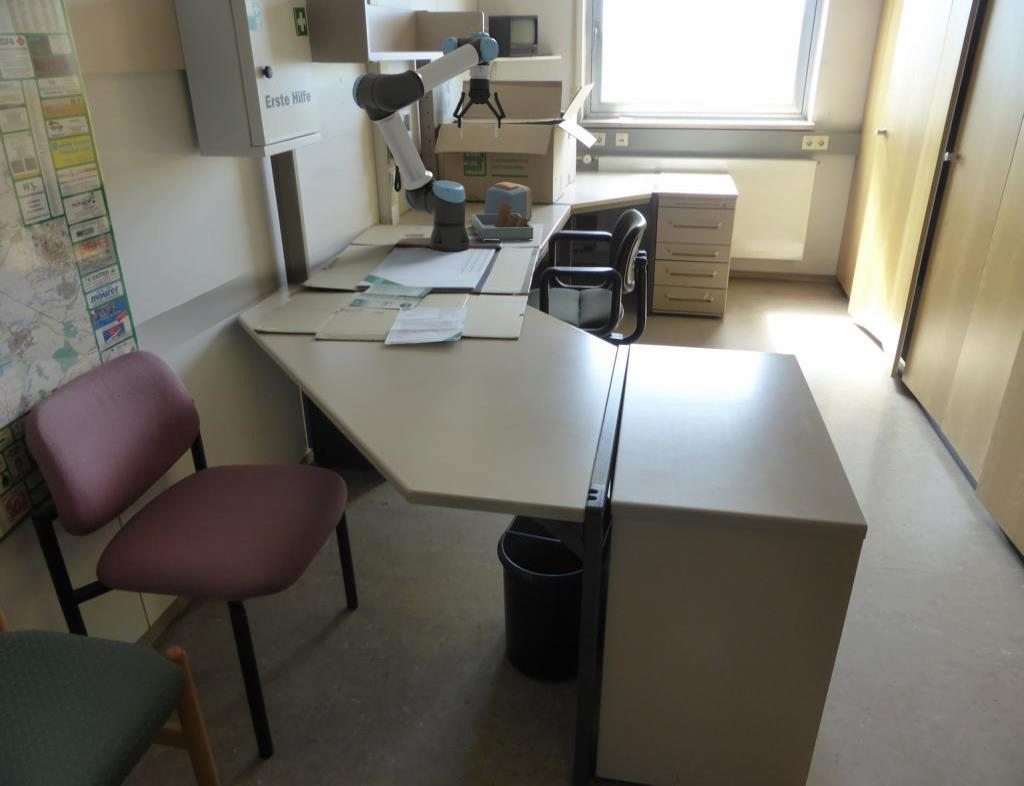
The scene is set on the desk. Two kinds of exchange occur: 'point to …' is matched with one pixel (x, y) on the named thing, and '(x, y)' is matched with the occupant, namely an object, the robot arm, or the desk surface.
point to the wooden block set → (509, 218)
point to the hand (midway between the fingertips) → (479, 137)
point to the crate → (489, 231)
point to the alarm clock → (509, 199)
